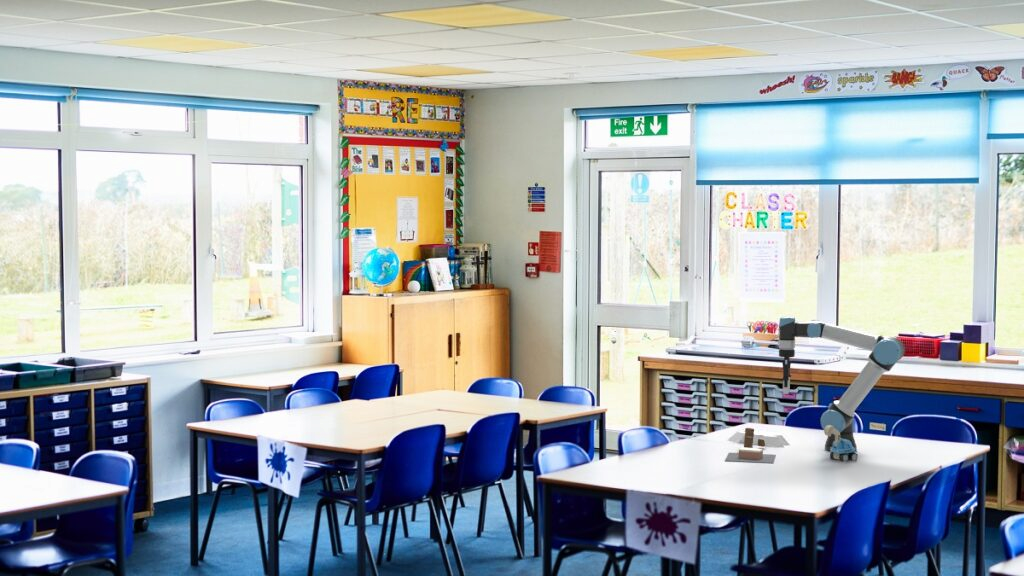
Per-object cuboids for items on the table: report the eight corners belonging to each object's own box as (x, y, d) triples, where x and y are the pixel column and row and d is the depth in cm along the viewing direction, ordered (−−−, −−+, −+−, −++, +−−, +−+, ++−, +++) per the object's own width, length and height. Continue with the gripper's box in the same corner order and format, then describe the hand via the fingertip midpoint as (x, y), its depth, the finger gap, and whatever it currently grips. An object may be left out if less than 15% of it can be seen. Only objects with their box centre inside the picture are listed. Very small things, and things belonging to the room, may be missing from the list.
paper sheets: (802, 445, 618) (802, 434, 617) (782, 450, 603) (782, 439, 603) (741, 437, 641) (742, 427, 641) (721, 442, 626) (721, 431, 626)
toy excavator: (818, 460, 572) (819, 424, 571) (845, 458, 579) (846, 422, 579) (831, 464, 564) (831, 426, 563) (858, 461, 572) (859, 424, 571)
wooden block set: (753, 454, 589) (755, 433, 588) (736, 451, 593) (738, 430, 593) (765, 449, 605) (767, 428, 604) (748, 446, 609) (750, 426, 608)
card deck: (741, 455, 580) (742, 447, 580) (762, 457, 576) (762, 448, 576) (738, 457, 575) (738, 449, 575) (759, 459, 570) (759, 450, 570)
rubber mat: (775, 456, 583) (775, 454, 583) (773, 464, 562) (773, 462, 562) (728, 454, 589) (728, 452, 589) (724, 462, 567) (724, 460, 567)
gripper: (780, 346, 609) (779, 388, 610) (777, 350, 585) (777, 395, 586) (795, 346, 607) (795, 389, 608) (793, 351, 583) (793, 395, 584)
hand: (786, 392), depth 597 cm, fingers open, 13 cm apart
